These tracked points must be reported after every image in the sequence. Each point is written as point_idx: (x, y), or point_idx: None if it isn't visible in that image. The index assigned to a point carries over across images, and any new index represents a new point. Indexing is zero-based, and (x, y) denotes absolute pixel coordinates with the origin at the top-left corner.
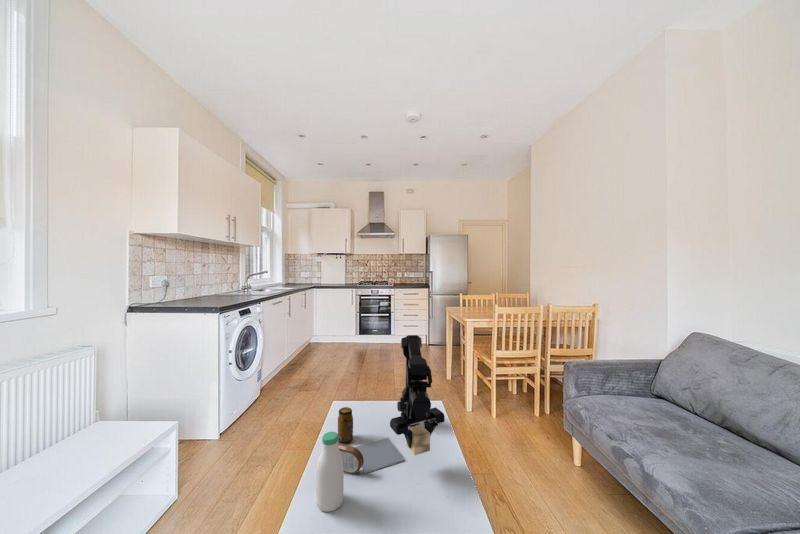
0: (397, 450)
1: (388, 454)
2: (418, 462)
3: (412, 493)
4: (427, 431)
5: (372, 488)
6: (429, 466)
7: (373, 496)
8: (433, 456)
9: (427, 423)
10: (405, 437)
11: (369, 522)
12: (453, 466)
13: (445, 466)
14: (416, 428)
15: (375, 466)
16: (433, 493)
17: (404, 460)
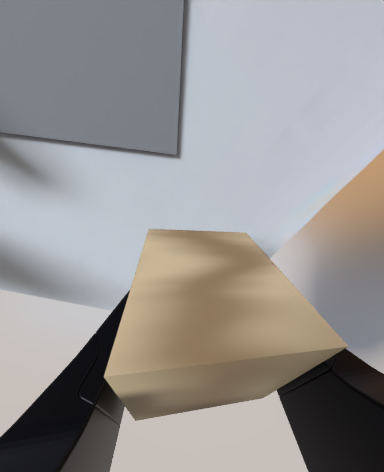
0: (179, 55)
1: (118, 54)
2: (210, 190)
3: (136, 267)
4: (266, 393)
5: (23, 215)
6: (224, 220)
7: (29, 240)
8: (266, 191)
9: (350, 465)
10: (98, 333)
11: (21, 287)
12: (265, 245)
13: (253, 238)
14: (235, 379)
15: (28, 113)
16: None
17: (174, 154)
